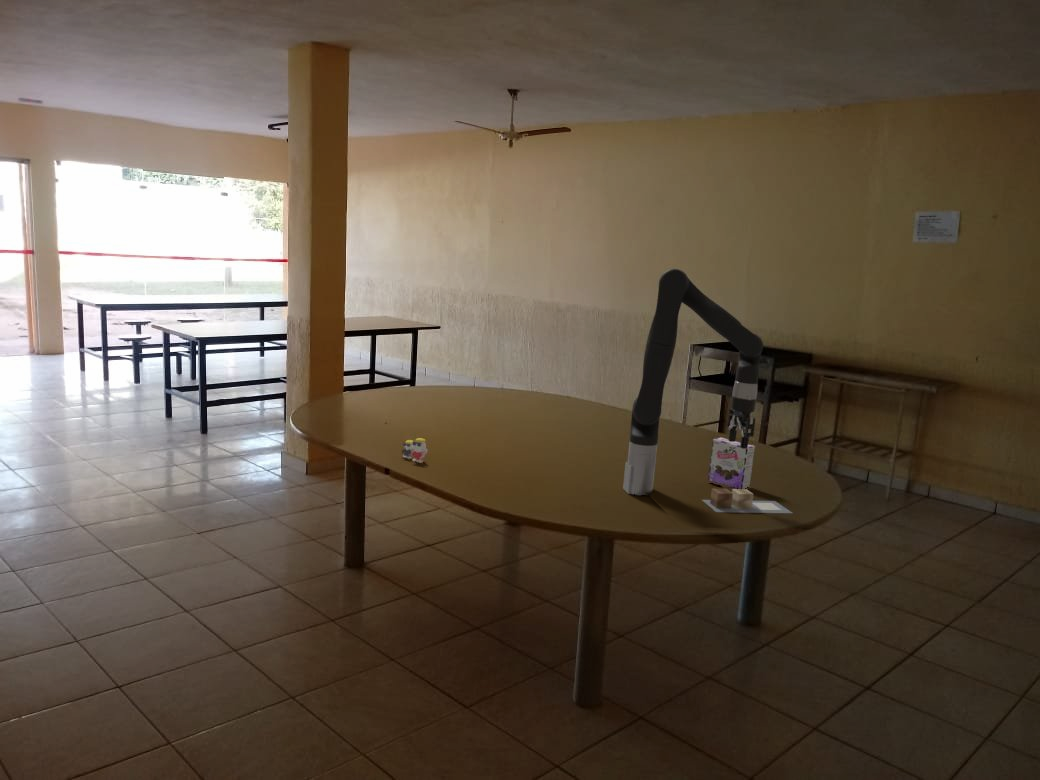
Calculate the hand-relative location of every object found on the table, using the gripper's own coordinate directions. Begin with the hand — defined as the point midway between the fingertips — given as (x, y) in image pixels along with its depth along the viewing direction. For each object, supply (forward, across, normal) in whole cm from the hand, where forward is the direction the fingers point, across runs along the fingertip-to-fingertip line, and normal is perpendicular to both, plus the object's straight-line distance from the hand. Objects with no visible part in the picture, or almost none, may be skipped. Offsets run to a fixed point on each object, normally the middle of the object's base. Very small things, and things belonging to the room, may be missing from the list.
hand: (737, 444), depth 257 cm
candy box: (+21, -20, +9) cm, 30 cm away
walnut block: (+19, +5, -6) cm, 21 cm away
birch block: (+19, +5, +2) cm, 20 cm away
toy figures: (+22, -49, -100) cm, 114 cm away
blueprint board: (+20, +5, +4) cm, 21 cm away
